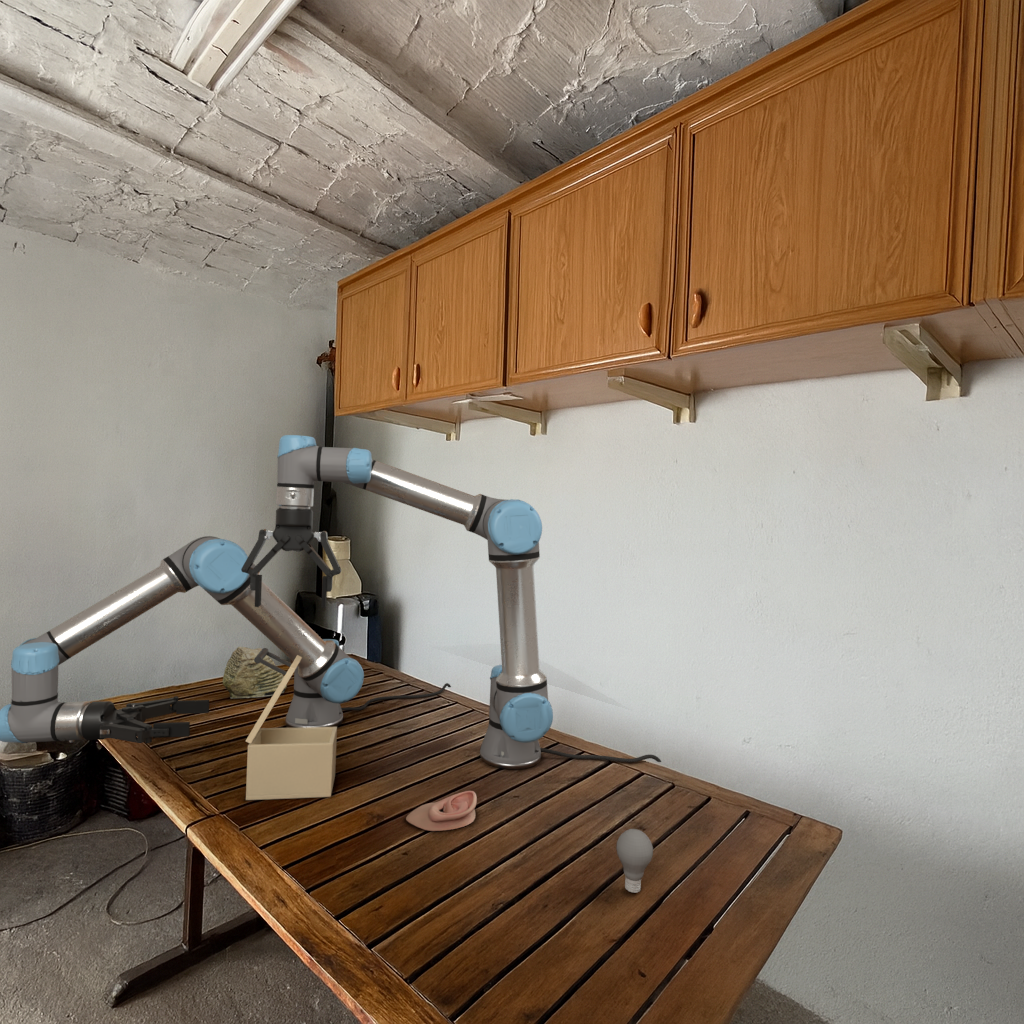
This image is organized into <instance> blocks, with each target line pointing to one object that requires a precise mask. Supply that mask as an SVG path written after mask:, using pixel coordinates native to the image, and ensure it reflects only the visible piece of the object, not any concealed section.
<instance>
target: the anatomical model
mask: <svg viewBox="0 0 1024 1024" xmlns="http://www.w3.org/2000/svg"><path fill="white" fill-rule="evenodd" d="M477 803H478V798H477V793H476V792H475V791H473V790H465V791H461V792H458V793H455V794H452V795H450V796H447V797H445V798H443V799H441V800H438V801H436V802H429V803H425V804H422V805H420V806H418V807H416V808H415V809H413V810H412V811H410V813H408V814H407V816H406V817H405V821H406V822H408V823H409V824H410V825H412V826H414V827H416V828H418V829H422V830H425V831H428V832H429V831H430V832H440V831H450V830H456V829H459V828H463V827H466V826H468V825H470V824H472V823H473V822H474V821H475V819H476V810H475V809H476V806H477Z"/></svg>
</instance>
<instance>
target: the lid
mask: <svg viewBox="0 0 1024 1024" xmlns="http://www.w3.org/2000/svg"><path fill="white" fill-rule="evenodd" d="M261 649H262V650H261V651H260V652H259V654H258V655H257V656H256V657H255V658H254V662H255V663H262V664H264V665H266V666H267V667H269V668H271V669H273V670H275V671H277V672H279V673H281V674H282V675H283V676H284V678H283V679H282V681H281V683H280V684H279V686H278V688H277V689H276V691H275V693H274V694H273V695H272V696H271V698H270V699H269V701H268V702H267V705H266V706H265V708H264V709H263V711H262V713H261V714H260V716H259V718H258V719H257V721H256V722H255V724H254V726H253V727H252V729H251V731H250V733H249V734H248V736H247V738H246V739H245V742H246V743H248V744H249V743H250V744H251V743H252V741H253V739H254V738H255V736H256V734H257V733H258V731H259V729H260V728H261V727H262V726H263V724H264V723H265V721H266V719H267V718H268V716H269V714H270V713H271V711H272V709H273V708H274V706H275V704H276V702H277V701H278V699H279V698H280V696H281V694H283V693H282V691H283V689H284V688H285V686H286V685H287V684H288V683H289V681H290V680H291V678H292V676H293V675H294V671H295V669H296V668H297V666H298V664H299V662H300V661H301V659H302V657H300V656H299V655H297V656H296V658H295V660H294V661H292V662H290V661H287V660H285V659H284V658H282V657H280V656H278V655H276V654H274V653H272V652H270V651H269V649H268V648H267V647H263V648H261ZM266 655H267V656H269V658H271V659H272V660H275V661H277V662H278V663H281V664H282V665H285V666H287V667H289V668H288V670H287V671H286V670H284V669H283V668H281V667H279V666H277V665H276V664H275V665H276V666H275V665H273V664H271V663H269V662H267V661H265V660H263V659H264V657H265V656H266Z"/></svg>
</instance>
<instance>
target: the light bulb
mask: <svg viewBox="0 0 1024 1024" xmlns="http://www.w3.org/2000/svg"><path fill="white" fill-rule="evenodd" d="M615 849H616V854H617V857H618V859H619V861H620V863H621V865H622V867H623V873H624V874H623V875H624V876H625V878H624V888H625V890H627V891H628V892H630V893H634V894H635V893H639V892H640V891H641V889H642V887H641V886H642V879H643V877H644V875H645V871H646V868H647V867H648V866H649V864H650V863H651V861H652V859H653V855H654V847H653V843H652V841H651V838H649V836H648V835H647V834H646V833H645V832H643V831H642V830H641V829H636V828H629V829H627V830H625V831H623V832H622V833H621V834H620V835H619V837H618V839H617V841H616V847H615Z"/></svg>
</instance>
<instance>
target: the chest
mask: <svg viewBox="0 0 1024 1024" xmlns="http://www.w3.org/2000/svg"><path fill="white" fill-rule="evenodd" d="M337 737H338V726H337V727H300V728H288V727H262V728H260V729H259V731H258V733H257V734H256V736H255V738H254V739H253V741H252V743H251V744H250V743H248V744H247V755H246V756H247V758H246V759H247V760H246V781H245V782H246V783H245V784H246V785H245V801H261V800H262V801H263V800H285V799H287V800H288V799H310V798H331V797H332V794H333V787H334V783H335V779H336V778H335V777H336V765H337V764H336V763H337V742H338V741H337V739H338V738H337Z"/></svg>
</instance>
